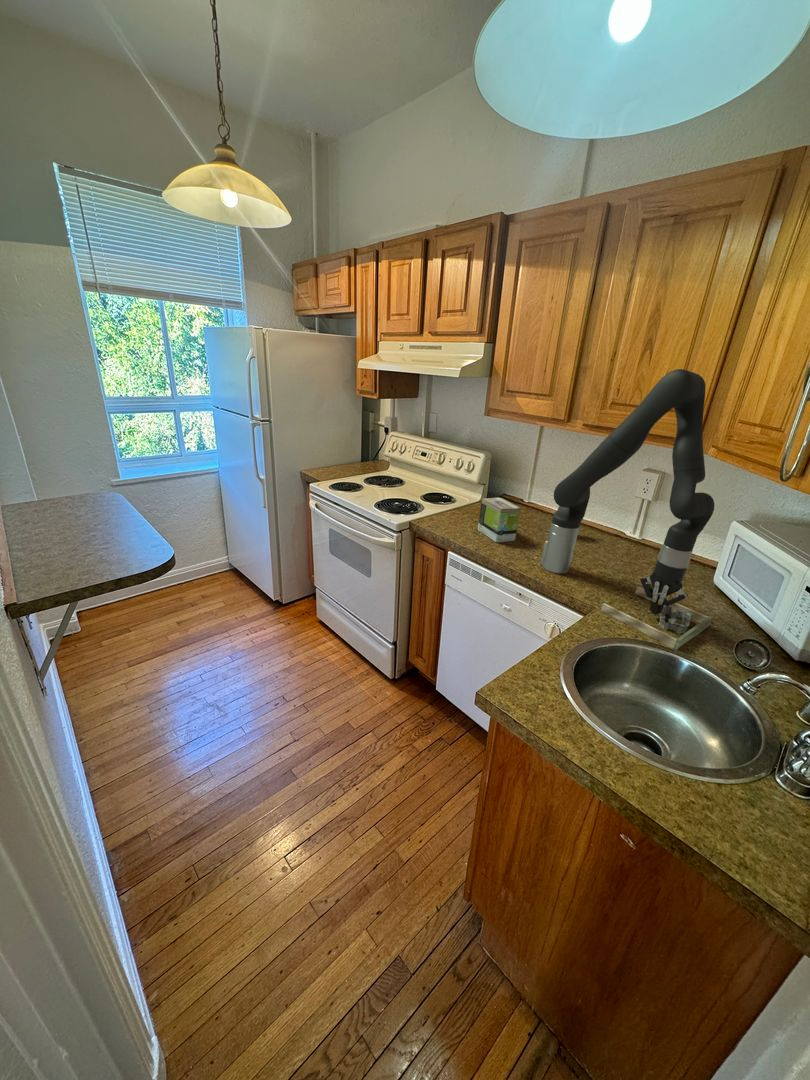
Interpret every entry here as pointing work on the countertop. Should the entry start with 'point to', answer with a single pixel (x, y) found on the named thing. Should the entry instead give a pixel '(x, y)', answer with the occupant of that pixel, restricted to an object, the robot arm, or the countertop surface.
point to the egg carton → (674, 620)
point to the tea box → (498, 519)
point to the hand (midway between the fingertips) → (654, 613)
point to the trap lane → (658, 634)
